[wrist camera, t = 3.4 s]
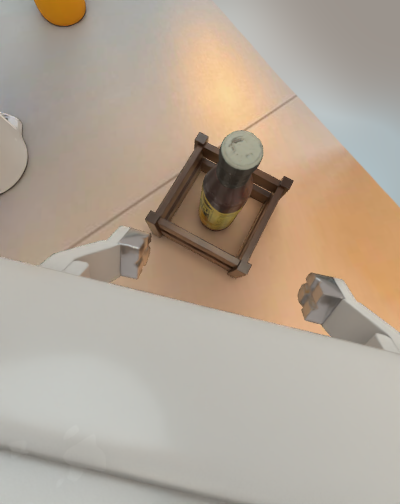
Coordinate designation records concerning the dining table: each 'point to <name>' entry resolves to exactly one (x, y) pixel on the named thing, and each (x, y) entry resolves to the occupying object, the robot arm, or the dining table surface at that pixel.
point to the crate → (163, 226)
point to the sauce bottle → (230, 180)
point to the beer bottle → (62, 11)
